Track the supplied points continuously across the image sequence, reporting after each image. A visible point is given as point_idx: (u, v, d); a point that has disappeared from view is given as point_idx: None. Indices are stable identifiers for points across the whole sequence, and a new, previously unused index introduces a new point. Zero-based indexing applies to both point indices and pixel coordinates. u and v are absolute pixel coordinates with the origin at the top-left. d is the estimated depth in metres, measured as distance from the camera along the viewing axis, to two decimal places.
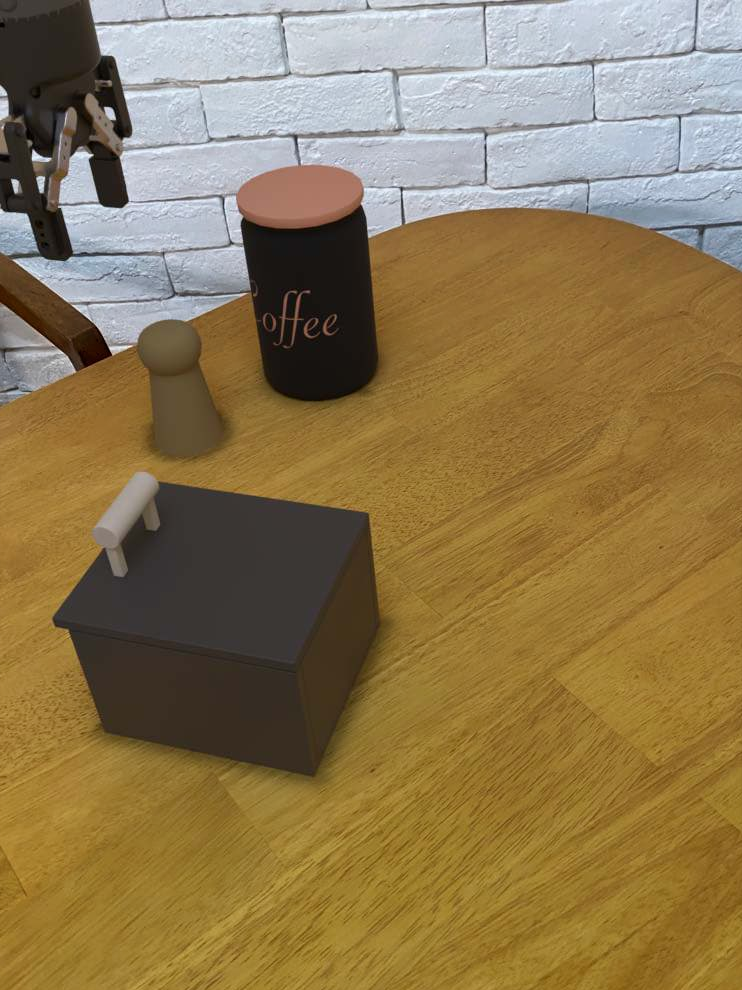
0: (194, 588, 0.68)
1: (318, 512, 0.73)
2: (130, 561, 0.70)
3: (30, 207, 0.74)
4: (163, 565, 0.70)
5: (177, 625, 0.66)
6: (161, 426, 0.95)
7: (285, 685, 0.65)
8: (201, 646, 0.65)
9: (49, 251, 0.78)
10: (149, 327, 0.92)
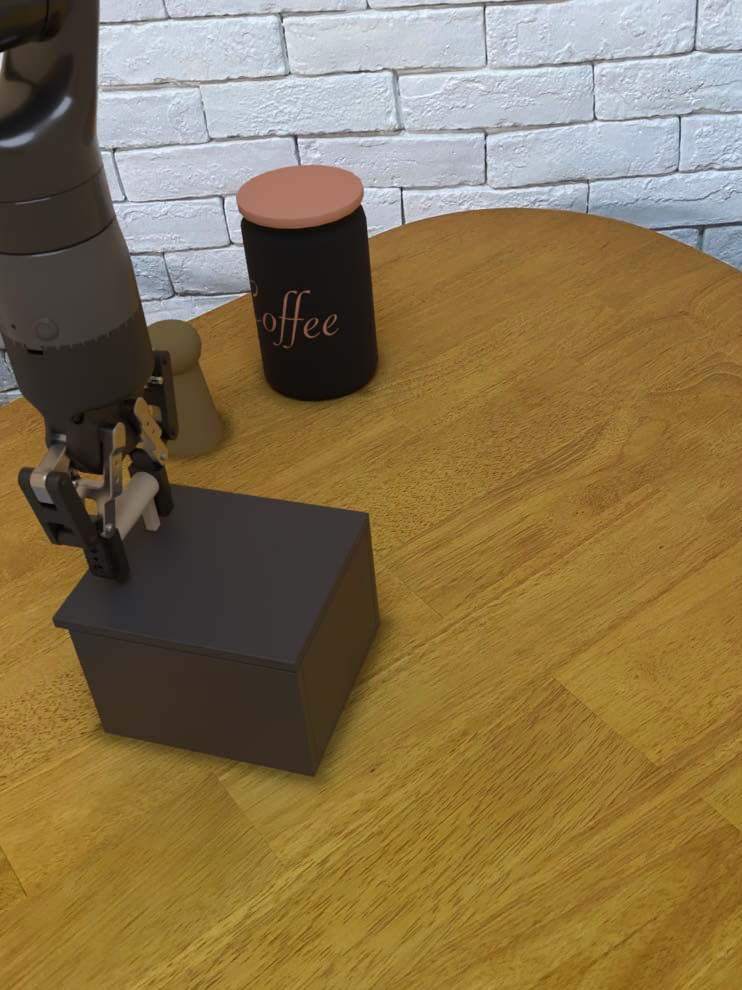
0: (194, 588, 0.68)
1: (318, 512, 0.73)
2: (130, 561, 0.70)
3: (86, 547, 0.63)
4: (163, 565, 0.70)
5: (177, 625, 0.66)
6: None
7: (285, 685, 0.65)
8: (201, 646, 0.65)
9: (103, 574, 0.67)
10: (149, 327, 0.92)
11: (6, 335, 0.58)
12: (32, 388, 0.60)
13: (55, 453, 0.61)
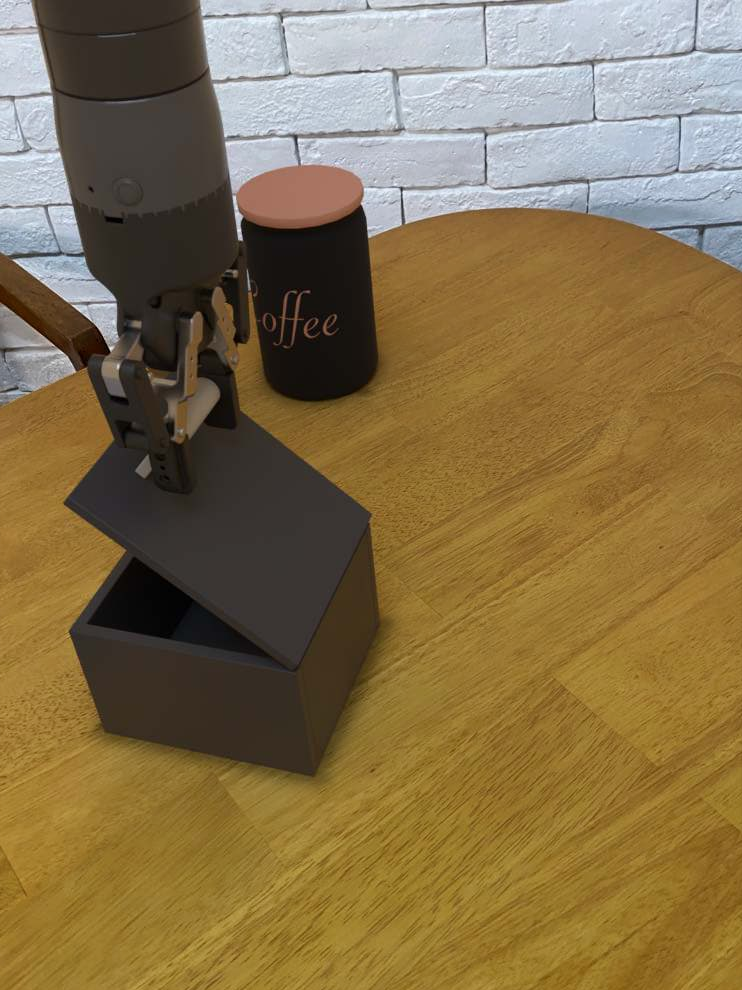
0: (213, 528, 0.64)
1: (330, 490, 0.71)
2: None
3: (157, 450, 0.57)
4: None
5: (195, 569, 0.62)
6: None
7: (285, 685, 0.65)
8: (216, 605, 0.62)
9: (169, 486, 0.61)
10: None
11: (80, 201, 0.51)
12: (106, 264, 0.53)
13: (129, 340, 0.54)
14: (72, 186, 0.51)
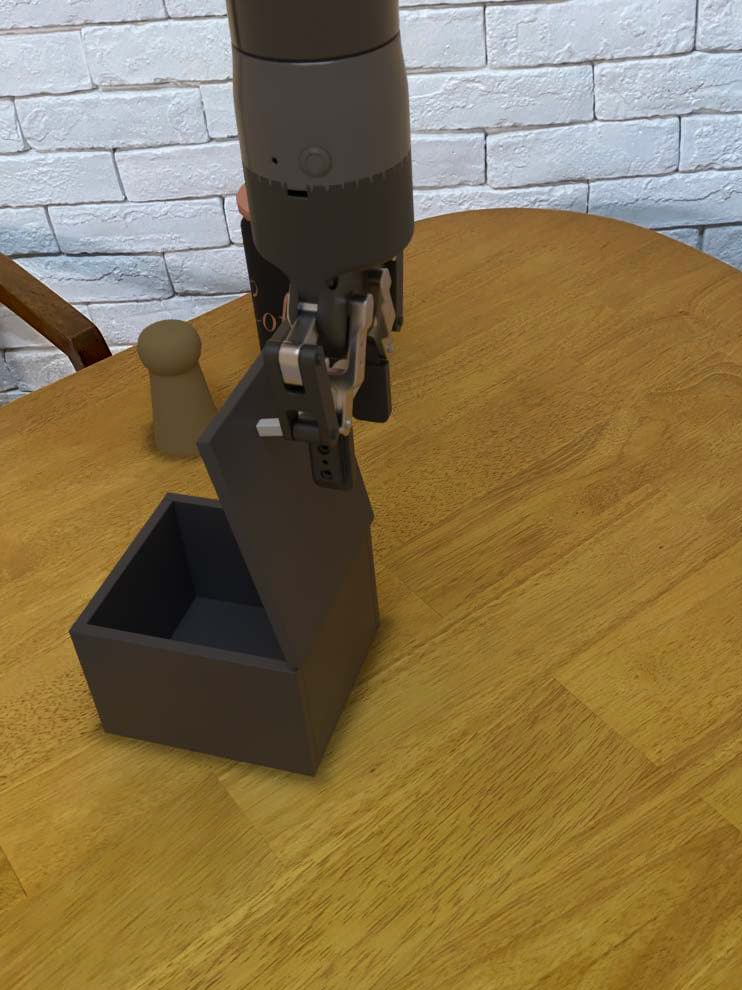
0: (286, 506, 0.61)
1: (358, 484, 0.70)
2: (268, 416, 0.59)
3: (328, 442, 0.53)
4: (281, 449, 0.61)
5: (267, 549, 0.59)
6: (161, 426, 0.95)
7: (285, 685, 0.65)
8: (270, 592, 0.60)
9: (330, 481, 0.57)
10: (149, 327, 0.92)
11: (259, 174, 0.48)
12: (283, 243, 0.49)
13: (304, 324, 0.50)
14: (251, 158, 0.48)
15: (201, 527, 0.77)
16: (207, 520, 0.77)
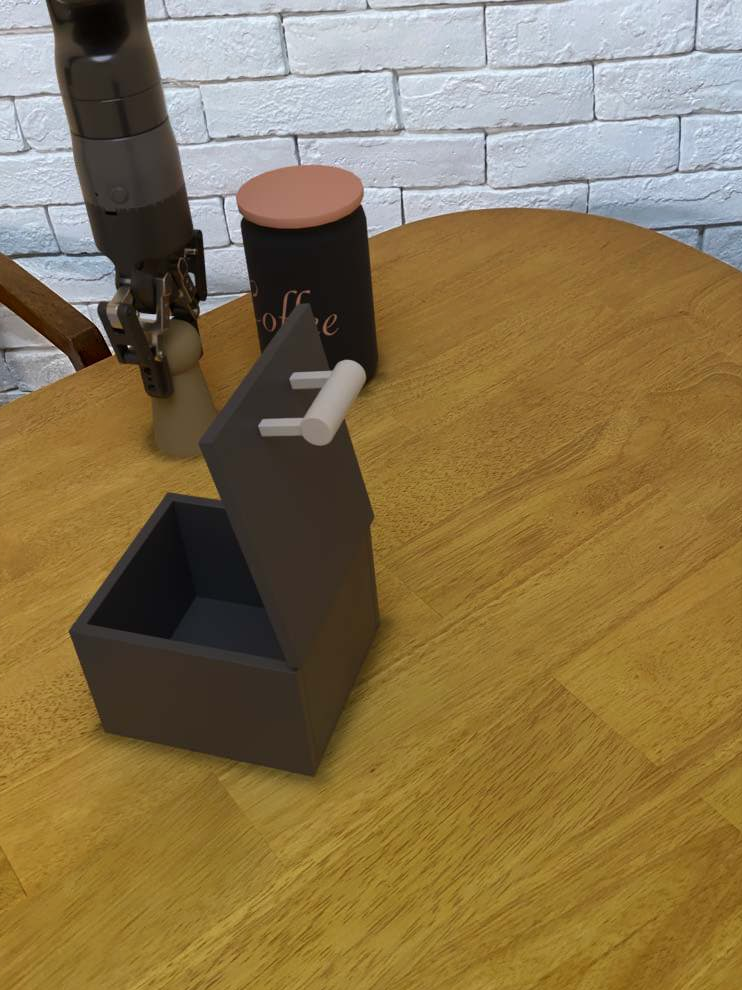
0: (288, 506, 0.61)
1: (359, 484, 0.70)
2: (270, 416, 0.59)
3: (144, 363, 0.87)
4: (283, 449, 0.61)
5: (268, 549, 0.59)
6: (161, 426, 0.95)
7: (285, 685, 0.65)
8: (271, 593, 0.60)
9: (155, 392, 0.91)
10: None
11: (90, 202, 0.82)
12: (107, 242, 0.83)
13: (123, 292, 0.84)
14: (84, 193, 0.82)
15: (201, 527, 0.77)
16: (207, 520, 0.77)
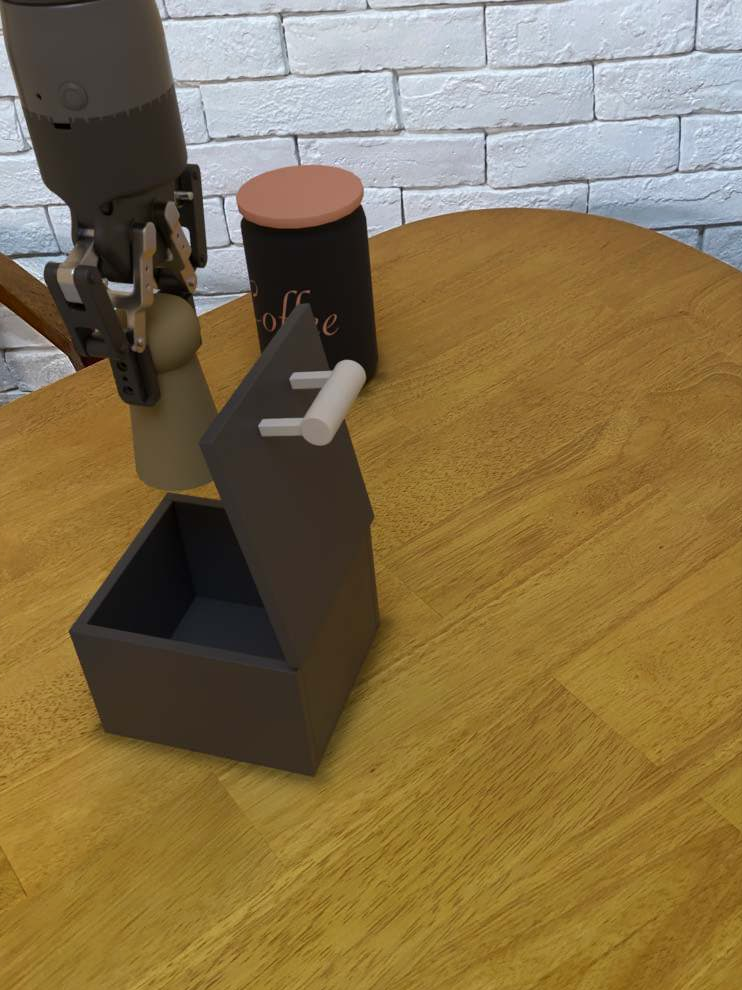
0: (288, 506, 0.61)
1: (359, 484, 0.70)
2: (270, 416, 0.59)
3: (116, 356, 0.59)
4: (283, 449, 0.61)
5: (268, 549, 0.59)
6: (144, 445, 0.67)
7: (285, 685, 0.65)
8: (271, 593, 0.60)
9: (133, 397, 0.63)
10: None
11: (30, 110, 0.54)
12: (58, 173, 0.55)
13: (83, 248, 0.56)
14: (22, 96, 0.54)
15: (201, 527, 0.77)
16: (207, 520, 0.77)
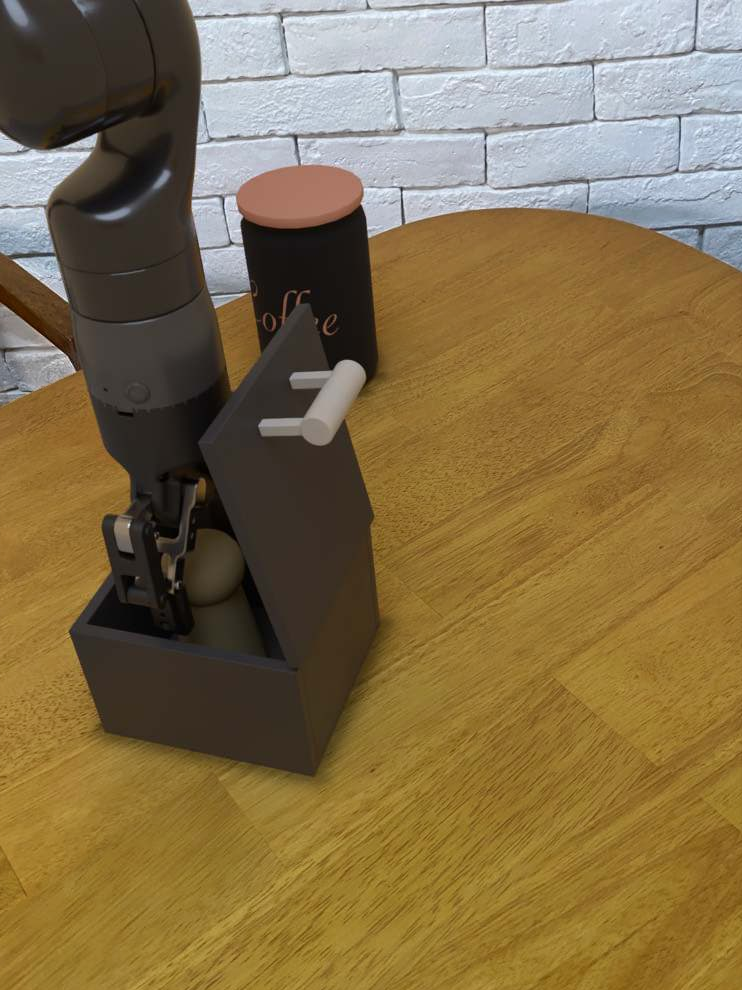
0: (288, 506, 0.61)
1: (359, 484, 0.70)
2: (270, 416, 0.59)
3: (155, 604, 0.63)
4: (283, 449, 0.61)
5: (268, 549, 0.59)
6: None
7: (285, 685, 0.65)
8: (271, 593, 0.60)
9: (169, 629, 0.67)
10: None
11: (96, 397, 0.59)
12: (120, 447, 0.61)
13: (140, 504, 0.61)
14: (89, 384, 0.59)
15: (201, 527, 0.77)
16: (207, 520, 0.77)
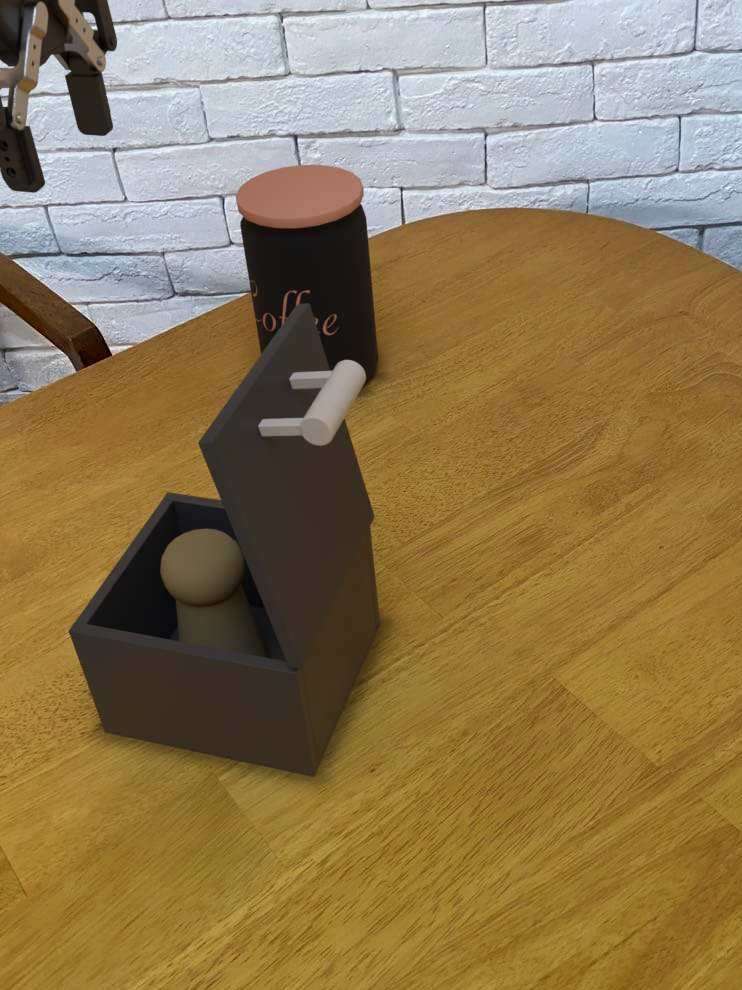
0: (288, 506, 0.61)
1: (359, 484, 0.70)
2: (270, 416, 0.59)
3: None
4: (283, 449, 0.61)
5: (268, 549, 0.59)
6: None
7: (285, 685, 0.65)
8: (271, 593, 0.60)
9: (16, 179, 0.65)
10: (176, 543, 0.70)
11: None
12: None
13: None
14: None
15: (201, 527, 0.77)
16: (207, 520, 0.77)
